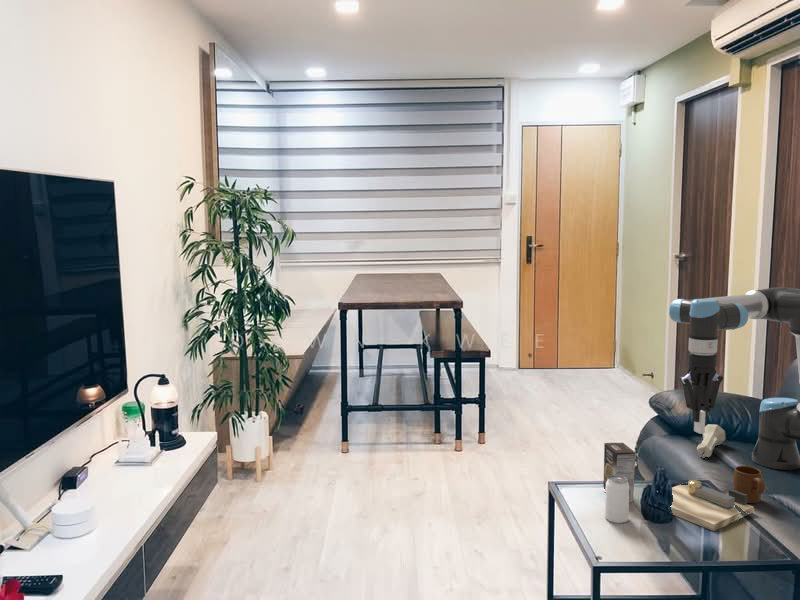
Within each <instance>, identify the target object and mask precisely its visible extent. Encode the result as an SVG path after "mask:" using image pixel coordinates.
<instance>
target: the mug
mask: <svg viewBox="0 0 800 600" xmlns="http://www.w3.org/2000/svg"><path fill="white" fill-rule="evenodd" d="M762 474H763V473H762V471H761V470H760V469H758V468H756V467H754V466H748V465H739V466H735V468H734V472H733V487H732V488H733V489H732V490H735V491H738V492H741V493H744V494H747V503H756V504H758V502H759V503H760V502H761V498H762V494H763V493H764V492H765V489H766V488H765V487H766V486H765V482H764V481H763V476H762Z"/></svg>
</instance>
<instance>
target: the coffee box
mask: <svg viewBox="0 0 800 600" xmlns="http://www.w3.org/2000/svg"><path fill="white" fill-rule="evenodd" d="M603 444H604V445H603V446H604V447H603V448H604V449H603V450H604V451H603V453H604V454H603V455H604V456H603V487H604V489H605V491H606V482H607V480H608V479H607V478H608V477H609V476H622V477H625V478H627V479H628V484H629V503H633V502H634V491H635V488H634V487H635V471H636V469H635V464H636V463H635V462H636V451H634V450H633V449H632V448H631V447H629V446H628V445H626V444H625V442H604V443H603ZM603 487H602V488H603Z"/></svg>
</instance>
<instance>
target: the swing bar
mask: <svg viewBox="0 0 800 600" xmlns="http://www.w3.org/2000/svg"><path fill="white" fill-rule="evenodd" d="M687 483H688V493H689V494H692V495H696V496H698V497H701V498H703V499H706V500H708V501H711V502H713V503H716V504H718V505H721V506H724V507H726V508H730V507H733V506H734V502H735V498H734V497H731V496H729V494H726V493H723V492H720V491H718V490H715V489H713V488H709V487H706V486H705V485H703V482H701V481H700V480H697V479H689V480H688V482H687Z"/></svg>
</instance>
